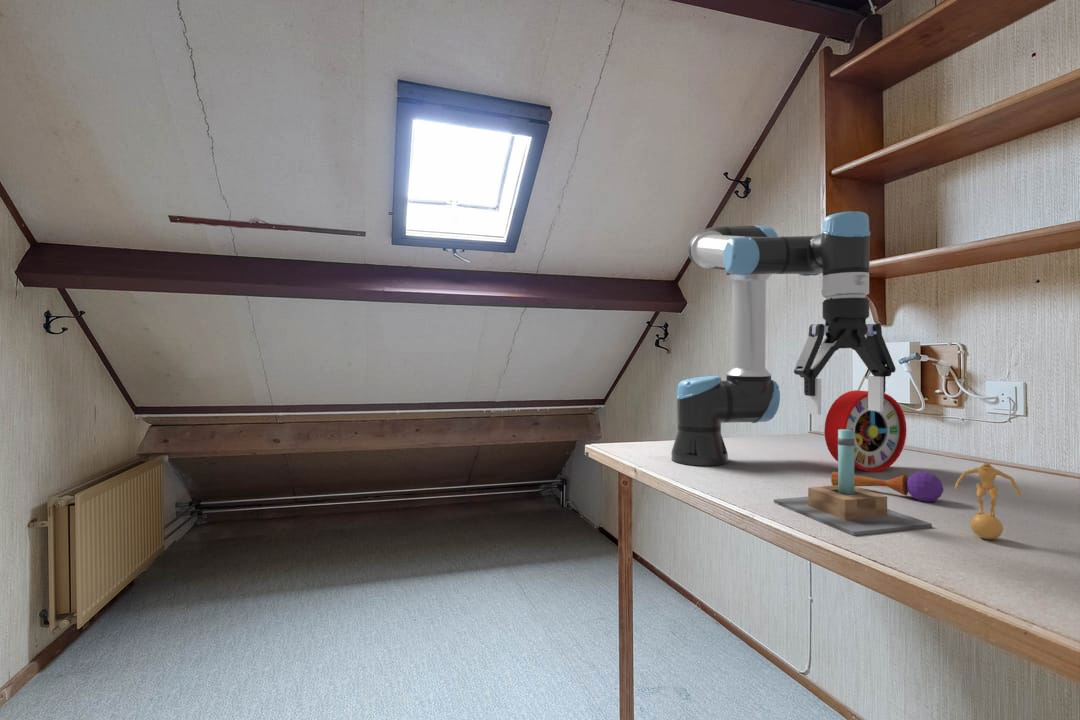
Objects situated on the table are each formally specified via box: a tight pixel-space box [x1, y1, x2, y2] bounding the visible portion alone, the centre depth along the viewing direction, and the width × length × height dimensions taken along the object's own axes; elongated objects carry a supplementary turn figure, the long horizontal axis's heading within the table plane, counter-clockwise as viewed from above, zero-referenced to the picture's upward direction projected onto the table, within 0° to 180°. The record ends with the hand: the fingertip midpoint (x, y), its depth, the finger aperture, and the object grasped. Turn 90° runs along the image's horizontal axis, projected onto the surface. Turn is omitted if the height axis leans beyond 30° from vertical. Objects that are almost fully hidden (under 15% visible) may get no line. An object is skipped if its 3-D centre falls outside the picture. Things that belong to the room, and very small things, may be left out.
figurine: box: [954, 461, 1023, 540], centre depth 86 cm, size 8×6×12 cm
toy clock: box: [823, 389, 907, 473], centre depth 134 cm, size 20×6×20 cm, turn 106°
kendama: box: [830, 471, 944, 503], centre depth 112 cm, size 6×6×20 cm
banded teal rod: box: [837, 429, 855, 495], centre depth 98 cm, size 3×3×15 cm
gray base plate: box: [773, 485, 933, 536], centre depth 99 cm, size 20×16×4 cm
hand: (845, 412), depth 99 cm, fingers open, 13 cm apart
